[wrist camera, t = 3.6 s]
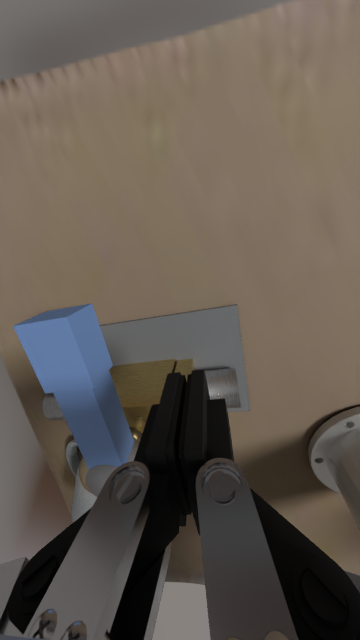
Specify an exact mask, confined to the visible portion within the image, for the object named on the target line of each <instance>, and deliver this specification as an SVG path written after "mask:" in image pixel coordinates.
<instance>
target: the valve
mask: <svg viewBox="0 0 360 640" xmlns="http://www.w3.org/2000/svg"><path fill="white" fill-rule="evenodd" d="M109 371H110V374H111V377H112V380H113V383H114V386H115V388H116V391H117V394H118V397H119V400H120V403H121V406H122V408H123V411H124V414H125V417H126V420H127V423H128V425H129V428H130V431H131V434H132V437H133V440H135V441H136V442H138V443H140V440H141V436H142V433H143V430H144V427H145V424H146V421H147V418H148V415H149V412H150V408H151V406H152V405H153V404H159V402H160V399H161V395H162V392H163V388H164V384H165V381H166V377H167V374H168V373H176V372H180V373H181V375H185V377H186V381H187V376H188V374H192V371H195V366H194V361H193V358H192V359H183V360H178V361H177V363H176V359H168V360H159V361H150V362H141V363H133V364H124V365H118V367H112V368H110V370H109ZM205 375H206V380H207V385H208V390H209V396H210V400H212V399H223V398H225V400H226V406H227V409H228V408H241V402H240V395H239V388H238V382H237V376H236V371H235V368H229V369H219V370H209V371H205ZM42 407H43V413H44V415H45V417H46V418H47V419H49V420H62V419H65V417H64V415H63V413H62V410H61V408H60V406H59V404H58V402H57V400H56V398H55V395H54V393H46V394H45V396H44V399H43V405H42Z"/></svg>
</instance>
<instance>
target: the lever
mask: <svg viewBox="0 0 360 640" xmlns="http://www.w3.org/2000/svg"><path fill="white" fill-rule="evenodd" d="M13 327H14V329H15V332H16V334H17V336H18V338H19V340H20V342H21V344H22V346H23V348H24V350H25V352H26V355H27V357H28V359H29V361H30V363H31V365H32V367H33V369H34V371H35V373H36V375H37V378H38V380H39V382H40V384H41V386H42V388H43V390H44V392H45V393H54V395H55V398H56V400H57V402H58V404H59V406H60V408H61V410H62V413H63V415H64V417H65V419H66V421H67V423H68V426H69V428H70V430H71V432H72V434H73V436H74V439H75V441H76V443H77V445H78V447H79V449H80V452H81V454H82V456H83V458H84V460H85V462H86V464H87V467H88V469H89V470H88V472H87V474H86V477H85V482H86V485H87V487H88V489H89V490H90V491H91V493H92V494H94V495H95V496H96V497H98V495H99V493H100V491H101V490H102V488H103V486H104V484H105V482H106V480H107V479H108V477H109V476H110V474H111V473H112V472H113V471H114V470H115V469H116V468H118V467H119V466H121V465H122V464H124V463H127V462H130V461H134V458H135V455H136V452H137V449H138V446H139V443H138V442H136V441H135V440H133V437H132V434H131V431H130V428H129V425H128V423H127V420H126V417H125V414H124V411H123V408H122V406H121V403H120V400H119V397H118V394H117V391H116V388H115V386H114V383H113V380H112V377H111V374H110V371H109V370H110V368H111V367H112V366H113V364H112V361H111V358H110V355H109V352H108V349H107V346H106V343H105V340H104V337H103V335H102V332H101V329H100V326H99V323H98V320H97V317H96V314H95V311H94V308H93V305H92V304H86V305H81V306H75V307H69V308H64V309H58V310H52V311H46V312H44V313H42V314H39V315H37V316H35V317H32V318H30V319H28V320H26V321H23V322H21V323H19V324H16V325H14V326H13Z"/></svg>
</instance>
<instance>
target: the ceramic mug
mask: <svg viewBox="0 0 360 640" xmlns="http://www.w3.org/2000/svg"><path fill="white" fill-rule="evenodd" d="M77 448H78V445H77V443H76V441H75V439H73V440H72V441H70V442H69V444H68V445H67V448H66V456H67V461H68V464H69V467H70V469H71V471H72V472H73V474H74V476H75V478H76V481H75V490H74V495H73V502H72V509H71V517H72V523H73V522H75V521H76V520H77V519H78V518H80V517H81V516H82V515H83V514H84V513H86V512H87V511H88V510H89V509H90V508H92V506H93V504H94V503H95V501H96V499H97V497H96V496H95V495H94V494H92V493H91V491H90V490H89V489H88V487H87V485H86V482H85V477H86V474H87V472H88V470H89V469H88V467H87V464H86V462H85V460H84V458H83V457H82V459H81V458H80V456H79V454H78V450H77Z"/></svg>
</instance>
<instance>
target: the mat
mask: <svg viewBox="0 0 360 640" xmlns="http://www.w3.org/2000/svg"><path fill="white" fill-rule="evenodd" d="M99 326H100V329H101V332H102V335H103V337H104V340H105V343H106V346H107V349H108V352H109V355H110V358H111V361H112V364H113V366H112V367H118V365H124V364H133V363H141V362H150V361H159V360H168V359H176V363H177V361H178V360H183V359H192V358H193V361H194V366H195V370H205V371H209V370H219V369H229V368H235V371H236V376H237V382H238V388H239V395H240V402H241V408H228V409H227V412H234V411H250V407H249V398H248V390H247V382H246V374H245V365H244V357H243V349H242V340H241V332H240V324H239V316H238V307H237V304H236V305H229V306H223V307H216V308H210V309H203V310H197V311H190V312H184V313H177V314H171V315H164V316H158V317H151V318H145V319H138V320H132V321H125V322H119V323H112V324H106V325H99ZM112 367H111V368H112Z"/></svg>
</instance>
